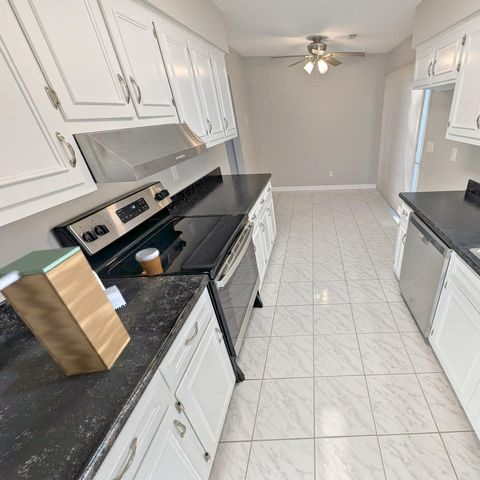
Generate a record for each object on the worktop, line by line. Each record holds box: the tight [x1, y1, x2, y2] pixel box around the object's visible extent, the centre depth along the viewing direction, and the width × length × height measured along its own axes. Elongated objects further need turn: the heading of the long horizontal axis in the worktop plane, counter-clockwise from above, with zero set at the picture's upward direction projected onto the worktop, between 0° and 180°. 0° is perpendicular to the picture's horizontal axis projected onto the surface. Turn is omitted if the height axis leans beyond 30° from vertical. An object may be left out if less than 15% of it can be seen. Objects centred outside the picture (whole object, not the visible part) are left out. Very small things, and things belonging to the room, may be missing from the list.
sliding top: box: [0, 245, 81, 290], centre depth 61 cm, size 12×22×2 cm, turn 7°
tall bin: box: [0, 249, 131, 377], centre depth 73 cm, size 12×12×35 cm
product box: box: [104, 285, 127, 311], centre depth 102 cm, size 6×6×7 cm
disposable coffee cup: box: [135, 247, 163, 277], centre depth 121 cm, size 10×10×12 cm
